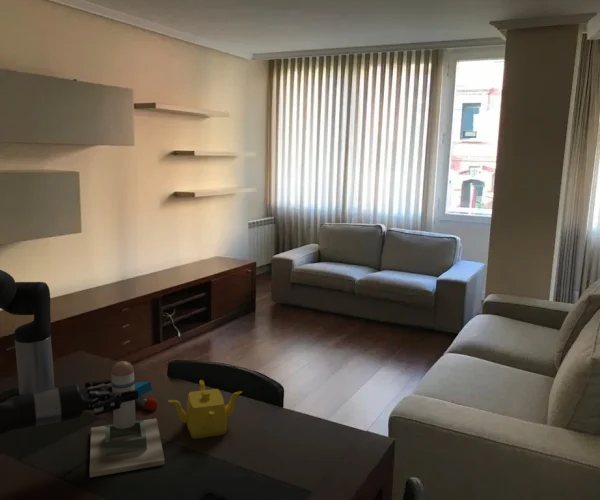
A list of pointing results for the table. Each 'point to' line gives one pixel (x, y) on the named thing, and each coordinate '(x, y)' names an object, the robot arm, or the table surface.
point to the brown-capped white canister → (123, 383)
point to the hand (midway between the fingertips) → (134, 389)
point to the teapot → (206, 412)
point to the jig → (125, 448)
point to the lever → (142, 389)
